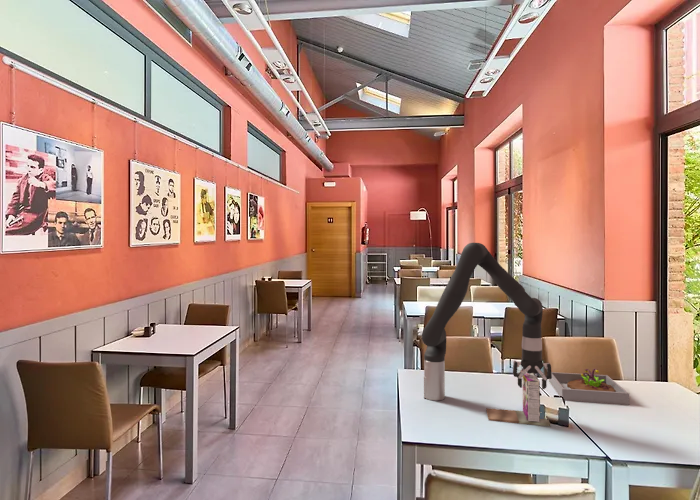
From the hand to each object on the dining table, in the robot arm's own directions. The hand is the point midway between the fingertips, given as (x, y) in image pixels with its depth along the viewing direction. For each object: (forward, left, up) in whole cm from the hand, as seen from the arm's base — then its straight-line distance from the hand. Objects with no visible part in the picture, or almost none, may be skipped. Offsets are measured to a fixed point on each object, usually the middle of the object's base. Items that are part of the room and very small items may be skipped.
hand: (531, 388), depth 170 cm
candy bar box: (0, 0, -12) cm, 12 cm away
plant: (+35, +44, -13) cm, 58 cm away
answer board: (-6, 0, -13) cm, 14 cm away
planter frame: (+31, +39, -13) cm, 52 cm away
